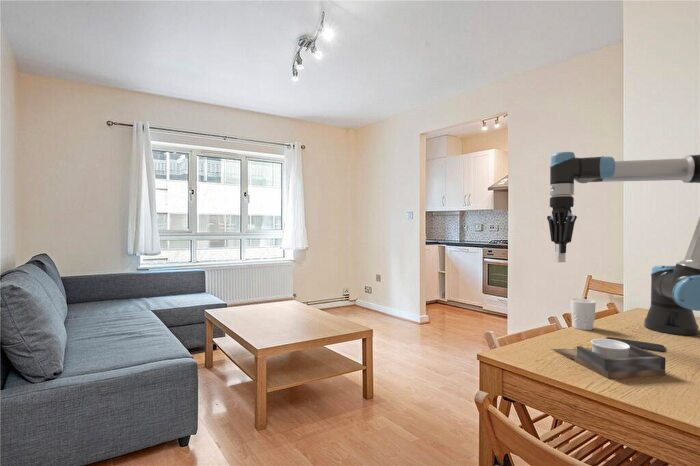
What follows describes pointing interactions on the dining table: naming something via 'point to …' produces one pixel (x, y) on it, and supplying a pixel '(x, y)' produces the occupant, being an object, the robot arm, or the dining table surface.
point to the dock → (618, 362)
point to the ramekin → (610, 348)
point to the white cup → (583, 313)
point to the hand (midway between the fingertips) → (560, 262)
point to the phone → (641, 344)
